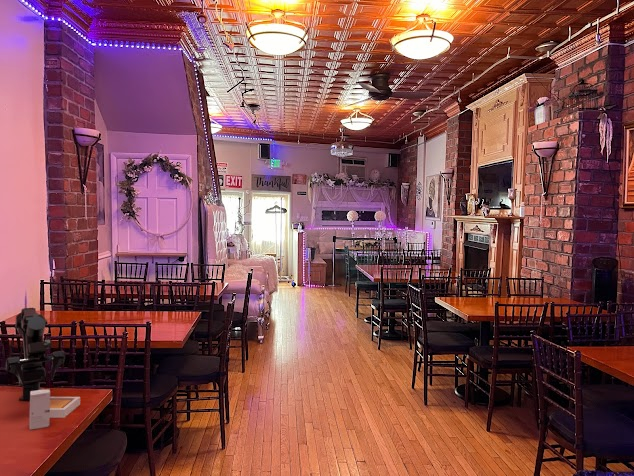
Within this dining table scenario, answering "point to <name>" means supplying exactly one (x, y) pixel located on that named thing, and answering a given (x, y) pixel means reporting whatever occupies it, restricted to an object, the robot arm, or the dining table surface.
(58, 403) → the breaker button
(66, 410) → the shallow white square tray
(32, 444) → the dining table surface
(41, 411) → the skincare box
